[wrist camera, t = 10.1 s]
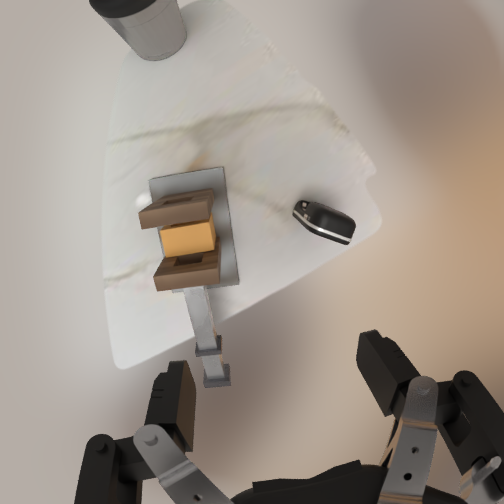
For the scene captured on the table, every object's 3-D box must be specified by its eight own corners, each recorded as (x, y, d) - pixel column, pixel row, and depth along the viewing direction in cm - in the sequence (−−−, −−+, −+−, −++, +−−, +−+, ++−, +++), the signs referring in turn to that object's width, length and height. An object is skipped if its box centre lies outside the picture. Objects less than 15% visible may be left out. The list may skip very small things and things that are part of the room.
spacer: (169, 219, 43) (159, 230, 37) (211, 212, 44) (209, 222, 37) (174, 242, 45) (166, 257, 38) (215, 235, 45) (214, 250, 38)
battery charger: (334, 207, 46) (363, 223, 36) (326, 227, 47) (353, 248, 37) (297, 193, 45) (319, 205, 34) (290, 214, 46) (309, 233, 35)
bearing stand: (150, 179, 42) (118, 190, 28) (222, 167, 43) (220, 171, 29) (173, 290, 49) (157, 337, 35) (238, 281, 49) (244, 328, 36)
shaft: (177, 263, 39) (172, 276, 35) (207, 259, 39) (205, 271, 35) (205, 370, 46) (204, 387, 42) (230, 368, 46) (230, 385, 42)
